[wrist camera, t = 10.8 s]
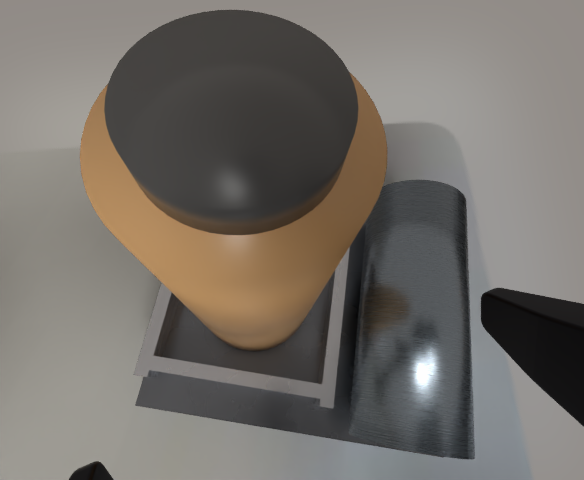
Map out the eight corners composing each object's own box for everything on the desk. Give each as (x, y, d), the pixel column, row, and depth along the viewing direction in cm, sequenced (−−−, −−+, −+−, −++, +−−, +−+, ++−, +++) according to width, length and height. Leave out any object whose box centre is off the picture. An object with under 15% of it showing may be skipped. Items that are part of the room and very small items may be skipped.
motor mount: (425, 449, 18) (509, 484, 12) (148, 403, 18) (87, 413, 12) (428, 237, 23) (490, 181, 17) (206, 198, 23) (183, 128, 16)
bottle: (269, 374, 17) (285, 347, 4) (178, 310, 18) (-38, 127, 5) (328, 281, 19) (460, 70, 6) (243, 226, 20) (204, -58, 7)
